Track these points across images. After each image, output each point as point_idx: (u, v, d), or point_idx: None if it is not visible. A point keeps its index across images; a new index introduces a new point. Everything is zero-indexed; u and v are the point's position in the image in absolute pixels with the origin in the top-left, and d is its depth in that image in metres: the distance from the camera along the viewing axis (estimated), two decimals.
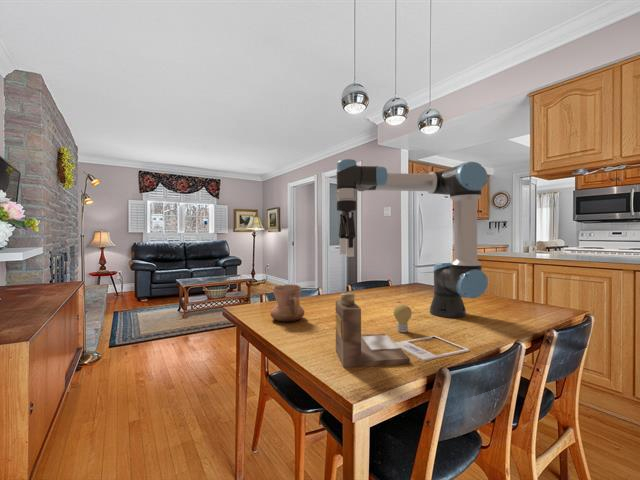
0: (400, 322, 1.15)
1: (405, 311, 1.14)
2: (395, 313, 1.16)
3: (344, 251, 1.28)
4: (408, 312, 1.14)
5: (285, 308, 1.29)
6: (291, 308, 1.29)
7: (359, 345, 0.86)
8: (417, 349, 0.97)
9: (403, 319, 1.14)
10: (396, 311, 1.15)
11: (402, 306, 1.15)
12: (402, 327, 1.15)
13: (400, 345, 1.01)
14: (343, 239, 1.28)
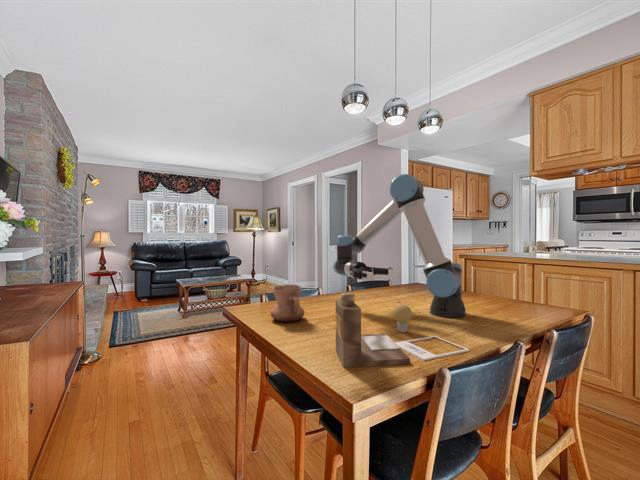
0: (400, 322, 1.15)
1: (405, 311, 1.14)
2: (395, 313, 1.16)
3: (396, 272, 1.29)
4: (408, 312, 1.14)
5: (285, 308, 1.29)
6: (291, 308, 1.29)
7: (359, 345, 0.86)
8: (417, 349, 0.97)
9: (403, 319, 1.14)
10: (396, 311, 1.15)
11: (402, 306, 1.15)
12: (402, 327, 1.15)
13: (400, 345, 1.01)
14: (389, 272, 1.33)
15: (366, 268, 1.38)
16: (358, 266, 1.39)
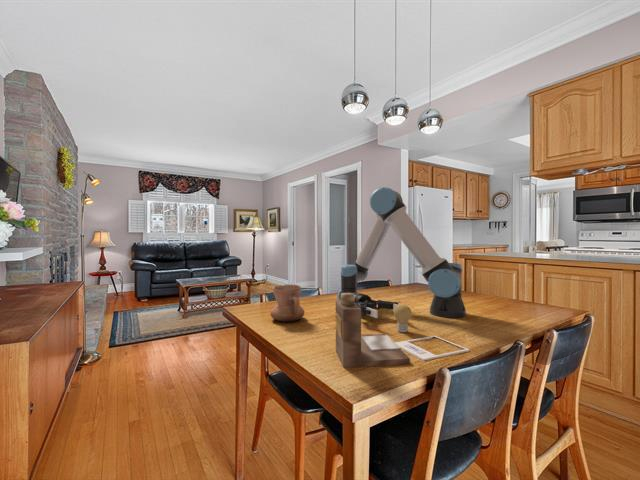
0: (400, 322, 1.15)
1: (405, 311, 1.14)
2: (395, 313, 1.16)
3: None
4: (408, 312, 1.14)
5: (285, 308, 1.29)
6: (291, 308, 1.29)
7: (359, 345, 0.86)
8: (417, 349, 0.97)
9: (403, 319, 1.14)
10: (396, 311, 1.15)
11: (402, 306, 1.15)
12: (402, 327, 1.15)
13: (400, 345, 1.01)
14: (394, 307, 1.30)
15: (370, 302, 1.35)
16: (362, 299, 1.36)
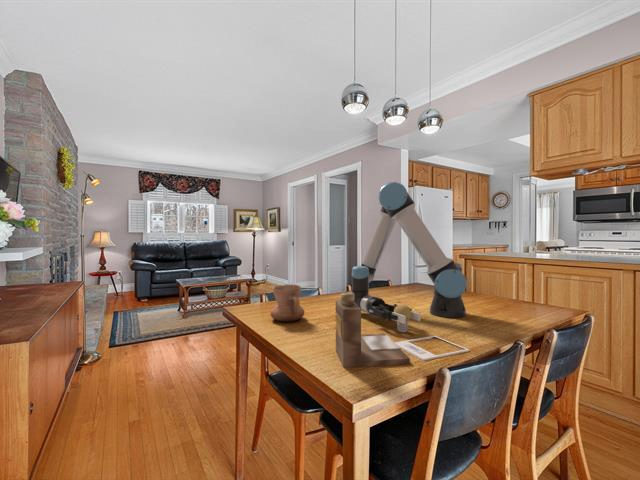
0: None
1: (405, 311, 1.14)
2: None
3: (416, 315, 1.15)
4: (408, 312, 1.14)
5: (285, 308, 1.29)
6: (291, 308, 1.29)
7: (359, 345, 0.86)
8: (417, 349, 0.97)
9: None
10: (396, 311, 1.15)
11: (402, 306, 1.15)
12: (402, 327, 1.15)
13: (400, 345, 1.01)
14: None
15: (384, 305, 1.27)
16: (376, 303, 1.29)
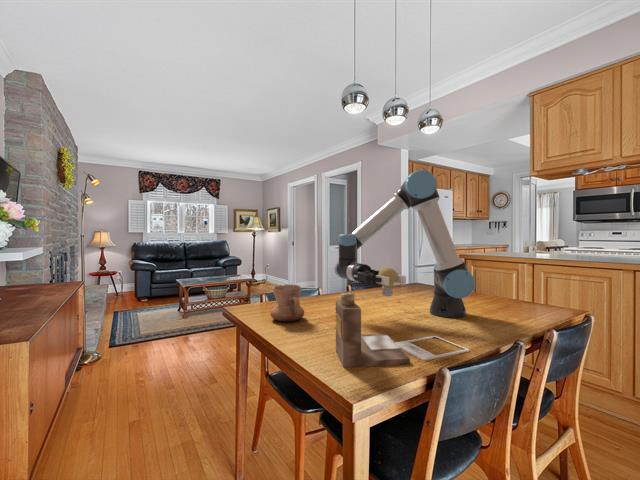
0: (384, 285, 1.09)
1: (390, 273, 1.08)
2: None
3: (402, 278, 1.08)
4: (393, 274, 1.08)
5: (285, 308, 1.29)
6: (291, 308, 1.29)
7: (359, 345, 0.86)
8: (417, 349, 0.97)
9: None
10: (380, 273, 1.09)
11: (387, 268, 1.09)
12: (386, 290, 1.09)
13: (400, 345, 1.01)
14: None
15: (370, 271, 1.21)
16: (362, 269, 1.23)
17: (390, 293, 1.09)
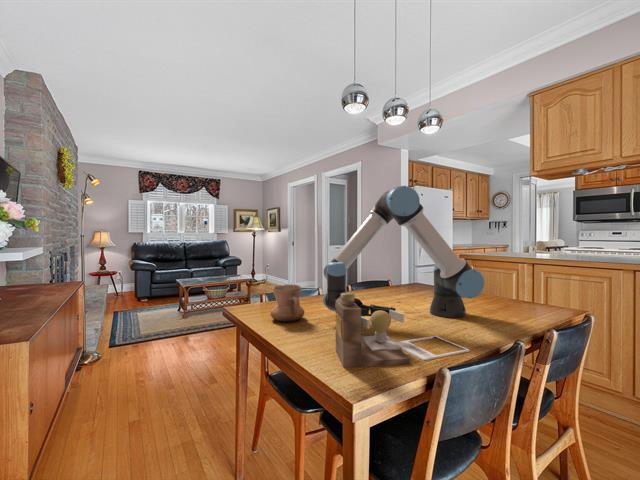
0: (377, 331, 0.99)
1: (383, 318, 0.97)
2: (372, 320, 0.99)
3: (400, 316, 1.01)
4: (387, 319, 0.98)
5: (285, 308, 1.29)
6: (291, 308, 1.29)
7: (359, 345, 0.86)
8: (417, 349, 0.97)
9: (381, 328, 0.98)
10: (373, 318, 0.99)
11: (380, 312, 0.99)
12: (380, 337, 0.99)
13: (400, 345, 1.01)
14: (390, 314, 1.06)
15: (362, 307, 1.10)
16: None
17: (384, 339, 0.99)
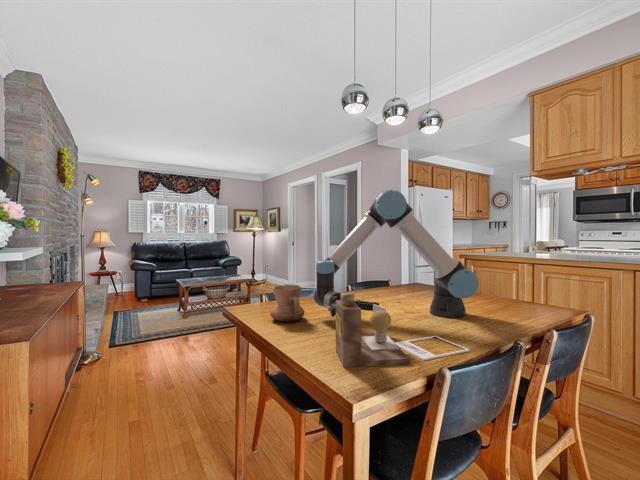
0: (377, 331, 0.99)
1: (383, 317, 0.98)
2: (372, 320, 0.99)
3: None
4: (387, 319, 0.98)
5: (285, 308, 1.29)
6: (291, 308, 1.29)
7: (359, 345, 0.86)
8: (417, 349, 0.97)
9: (381, 328, 0.98)
10: (373, 318, 0.99)
11: (380, 312, 0.99)
12: (380, 337, 0.99)
13: (400, 345, 1.01)
14: (373, 308, 1.13)
15: None
16: (338, 299, 1.20)
17: (384, 339, 0.99)
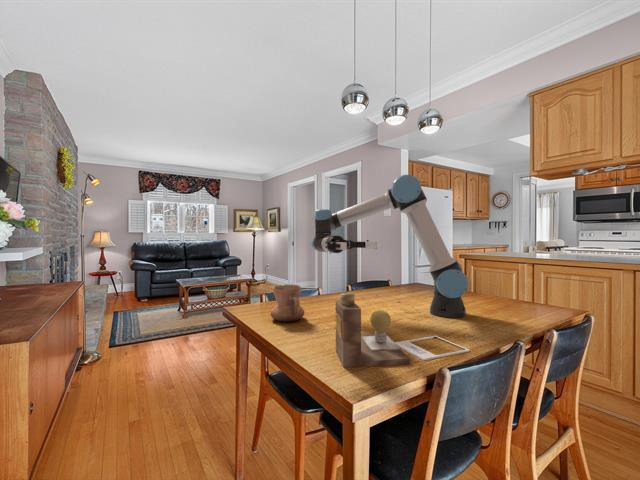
0: (377, 331, 0.99)
1: (383, 318, 0.97)
2: (371, 320, 0.99)
3: (373, 244, 1.21)
4: (386, 319, 0.98)
5: (285, 308, 1.29)
6: (291, 308, 1.29)
7: (359, 345, 0.86)
8: (417, 349, 0.97)
9: (380, 328, 0.98)
10: (373, 318, 0.99)
11: (380, 312, 0.99)
12: (380, 337, 0.99)
13: (400, 345, 1.01)
14: (366, 244, 1.26)
15: (343, 241, 1.30)
16: (335, 240, 1.32)
17: (383, 340, 0.99)
